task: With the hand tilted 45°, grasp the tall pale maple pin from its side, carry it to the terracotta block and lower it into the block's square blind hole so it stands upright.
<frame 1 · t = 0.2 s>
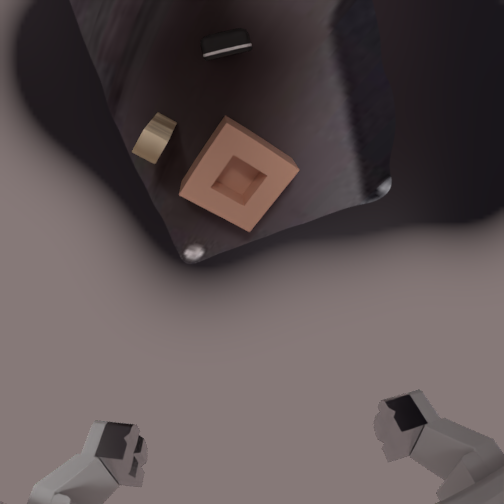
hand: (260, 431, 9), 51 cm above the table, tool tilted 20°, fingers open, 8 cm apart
battery charger: (223, 44, 43), on the table
terracotta socket block: (236, 168, 57), on the table
maple pin: (161, 126, 50), on the table
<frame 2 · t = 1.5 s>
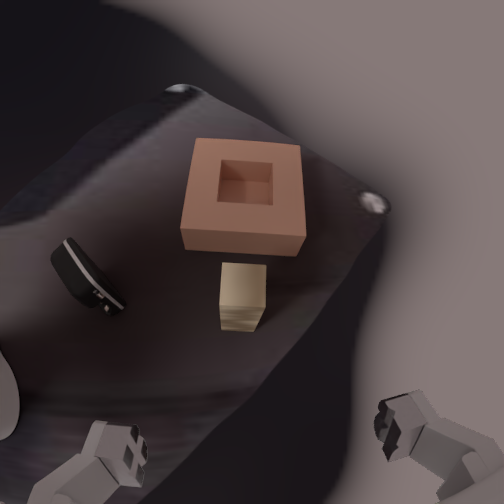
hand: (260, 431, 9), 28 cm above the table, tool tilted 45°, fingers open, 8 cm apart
battery charger: (104, 296, 38), on the table
terracotta socket block: (243, 206, 45), on the table
maple pin: (238, 315, 39), on the table
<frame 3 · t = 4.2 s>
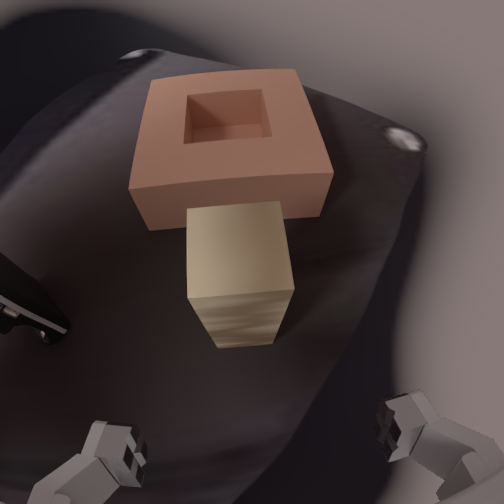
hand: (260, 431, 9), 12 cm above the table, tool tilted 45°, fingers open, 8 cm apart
battery charger: (42, 317, 23), on the table
terracotta socket block: (229, 159, 30), on the table
maple pin: (242, 320, 23), on the table
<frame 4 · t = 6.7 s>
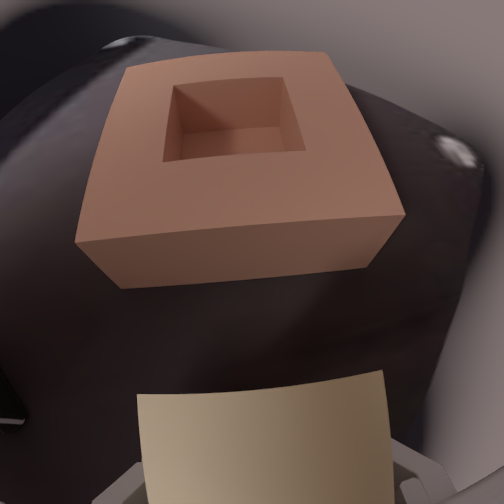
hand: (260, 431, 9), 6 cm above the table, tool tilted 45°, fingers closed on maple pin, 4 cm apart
terracotta socket block: (235, 178, 21), on the table
maple pin: (258, 429, 14), on the table, touching gripper
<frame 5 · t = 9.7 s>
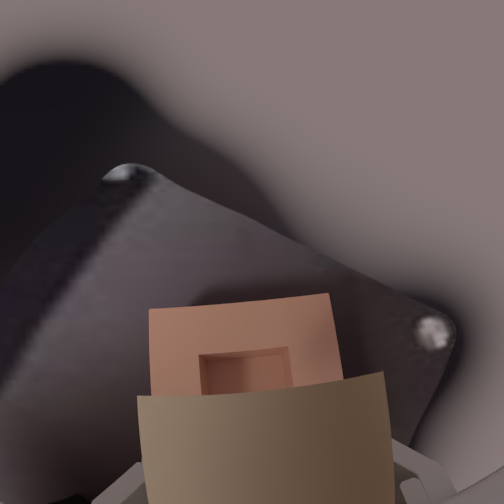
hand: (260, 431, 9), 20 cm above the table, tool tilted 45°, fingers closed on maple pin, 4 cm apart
terracotta socket block: (248, 395, 27), on the table
maple pin: (258, 429, 14), point 13 cm above the table, touching gripper
when the fingers open (9 cm above the table, at t = 12.7 s): maple pin drops 1 cm, resting on terracotta socket block.
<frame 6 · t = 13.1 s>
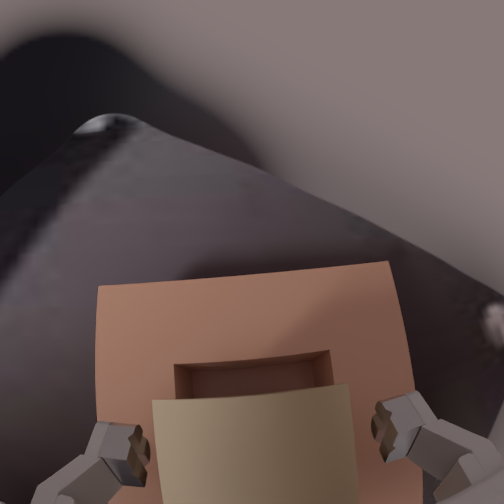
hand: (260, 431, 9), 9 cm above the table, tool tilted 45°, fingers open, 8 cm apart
terracotta socket block: (257, 423, 17), on the table
maple pin: (257, 427, 16), point 2 cm above the table, touching terracotta socket block
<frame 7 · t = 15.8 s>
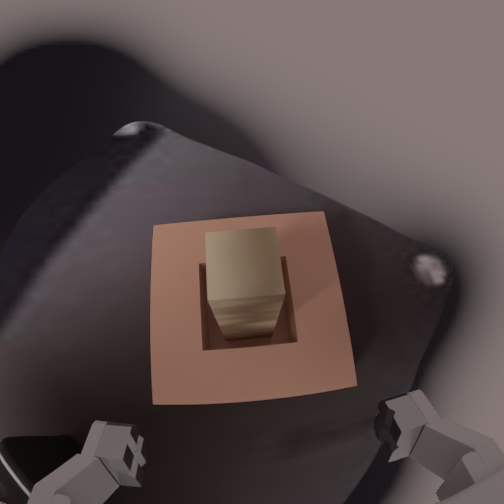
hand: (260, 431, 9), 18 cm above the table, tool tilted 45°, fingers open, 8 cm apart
battery charger: (82, 466, 22), on the table
terracotta socket block: (247, 320, 29), on the table
maple pin: (247, 317, 28), point 1 cm above the table, touching terracotta socket block
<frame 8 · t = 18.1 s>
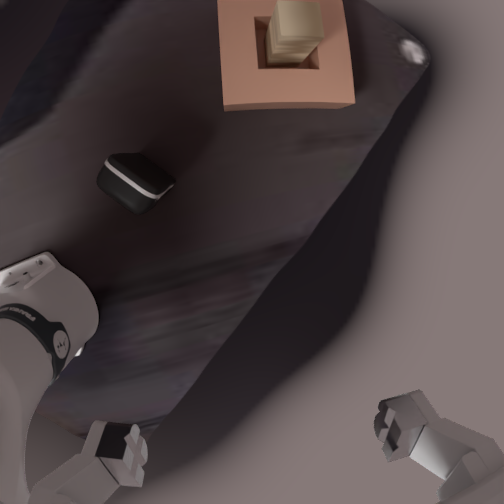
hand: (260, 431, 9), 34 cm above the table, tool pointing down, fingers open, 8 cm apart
battery charger: (149, 177, 39), on the table
terracotta socket block: (279, 55, 35), on the table
maple pin: (280, 53, 33), point 1 cm above the table, touching terracotta socket block
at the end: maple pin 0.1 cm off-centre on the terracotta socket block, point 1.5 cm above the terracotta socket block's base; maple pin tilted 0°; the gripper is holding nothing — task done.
